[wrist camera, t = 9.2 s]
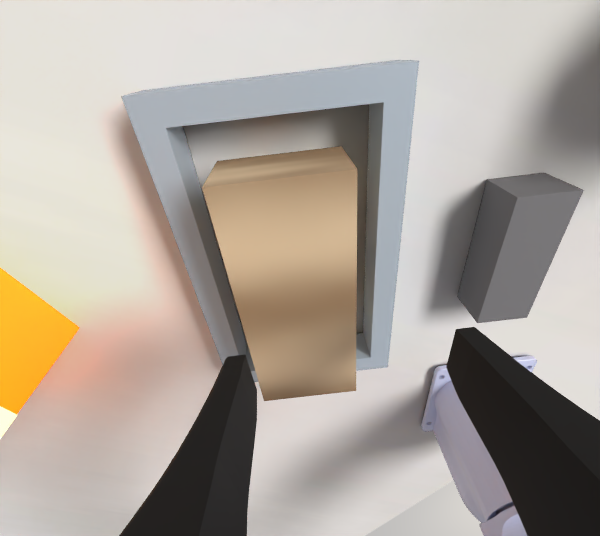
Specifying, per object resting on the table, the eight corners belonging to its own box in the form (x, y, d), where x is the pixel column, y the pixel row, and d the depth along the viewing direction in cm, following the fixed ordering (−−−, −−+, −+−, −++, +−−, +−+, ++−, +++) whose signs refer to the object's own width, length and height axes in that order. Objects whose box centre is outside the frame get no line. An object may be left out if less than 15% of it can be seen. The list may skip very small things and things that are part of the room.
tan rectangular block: (345, 347, 19) (355, 390, 17) (265, 356, 19) (264, 401, 17) (341, 146, 12) (357, 169, 10) (217, 161, 12) (202, 187, 10)
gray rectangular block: (501, 291, 21) (526, 317, 19) (457, 296, 21) (477, 323, 19) (544, 172, 16) (583, 189, 14) (487, 179, 16) (517, 197, 14)
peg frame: (378, 342, 23) (389, 370, 21) (234, 358, 23) (229, 388, 21) (399, 59, 13) (422, 60, 11) (142, 90, 13) (117, 97, 11)
